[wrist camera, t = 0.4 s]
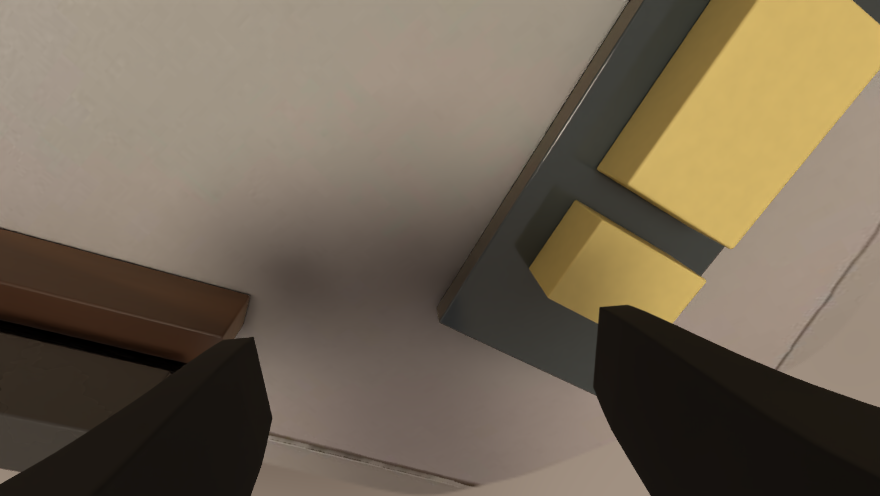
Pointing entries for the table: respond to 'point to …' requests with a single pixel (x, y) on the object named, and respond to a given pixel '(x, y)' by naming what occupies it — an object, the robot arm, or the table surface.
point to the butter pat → (610, 269)
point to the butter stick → (743, 108)
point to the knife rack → (113, 300)
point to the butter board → (576, 178)
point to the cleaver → (63, 389)
